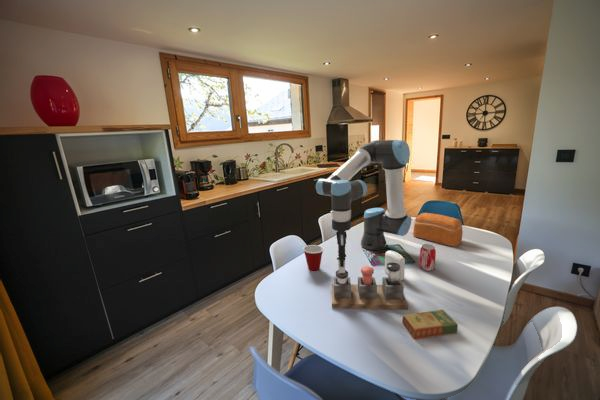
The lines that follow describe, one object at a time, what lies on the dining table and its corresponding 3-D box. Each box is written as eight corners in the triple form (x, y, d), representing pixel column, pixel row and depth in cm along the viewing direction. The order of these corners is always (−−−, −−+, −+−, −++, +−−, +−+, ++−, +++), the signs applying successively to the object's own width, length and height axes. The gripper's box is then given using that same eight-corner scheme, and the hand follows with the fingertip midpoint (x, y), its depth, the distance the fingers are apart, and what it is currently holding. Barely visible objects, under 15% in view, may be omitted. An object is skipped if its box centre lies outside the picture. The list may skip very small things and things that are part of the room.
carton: (401, 323, 98) (402, 313, 97) (442, 318, 100) (443, 308, 99) (414, 340, 90) (414, 330, 89) (457, 334, 92) (458, 323, 91)
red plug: (358, 286, 114) (358, 267, 112) (370, 284, 115) (370, 265, 112) (363, 293, 109) (364, 273, 107) (375, 291, 110) (376, 271, 108)
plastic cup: (328, 266, 140) (327, 246, 137) (317, 276, 132) (316, 254, 129) (311, 262, 146) (310, 242, 143) (300, 270, 138) (298, 249, 135)
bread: (420, 230, 181) (422, 208, 177) (463, 241, 162) (466, 216, 158) (411, 236, 172) (412, 213, 168) (455, 248, 153) (457, 222, 149)
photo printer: (383, 272, 132) (383, 249, 129) (389, 269, 134) (390, 247, 131) (398, 282, 123) (400, 258, 120) (405, 279, 125) (406, 255, 122)
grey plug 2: (383, 282, 112) (384, 263, 110) (395, 281, 113) (395, 261, 111) (389, 289, 107) (390, 269, 105) (401, 287, 108) (402, 267, 106)
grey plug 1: (334, 289, 116) (334, 270, 113) (345, 287, 116) (345, 268, 114) (338, 296, 111) (338, 276, 108) (350, 294, 112) (350, 274, 109)
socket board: (331, 307, 108) (331, 290, 106) (331, 287, 122) (331, 272, 120) (407, 309, 105) (409, 291, 103) (399, 289, 118) (399, 273, 116)
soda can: (436, 272, 130) (438, 249, 127) (420, 271, 131) (422, 249, 128) (432, 265, 136) (434, 243, 133) (417, 264, 138) (419, 243, 135)
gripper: (331, 214, 112) (332, 264, 118) (331, 224, 99) (333, 280, 105) (349, 214, 111) (349, 264, 117) (352, 224, 98) (352, 280, 104)
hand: (341, 272), depth 111 cm, fingers closed
